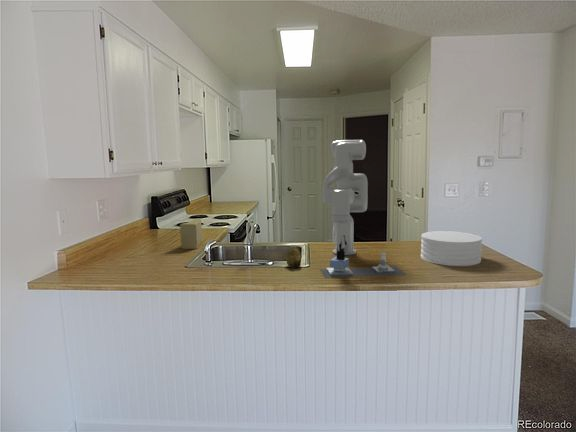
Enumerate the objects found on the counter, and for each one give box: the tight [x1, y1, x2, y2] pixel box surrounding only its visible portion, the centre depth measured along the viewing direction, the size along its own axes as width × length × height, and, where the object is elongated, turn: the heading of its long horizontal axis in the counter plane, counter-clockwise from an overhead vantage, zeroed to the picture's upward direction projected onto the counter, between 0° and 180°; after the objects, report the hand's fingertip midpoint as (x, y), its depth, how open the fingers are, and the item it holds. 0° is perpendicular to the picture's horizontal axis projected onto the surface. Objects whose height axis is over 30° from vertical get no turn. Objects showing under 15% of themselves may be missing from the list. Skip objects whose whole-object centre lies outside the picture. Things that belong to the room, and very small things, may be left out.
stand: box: [371, 252, 395, 273], centre depth 179 cm, size 8×8×8 cm
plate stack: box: [420, 230, 483, 267], centre depth 199 cm, size 28×28×12 cm
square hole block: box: [329, 256, 350, 269], centre depth 177 cm, size 6×6×4 cm
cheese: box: [179, 217, 203, 250], centre depth 240 cm, size 22×10×15 cm, turn 174°
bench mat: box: [319, 266, 408, 279], centre depth 178 cm, size 13×36×1 cm, turn 95°
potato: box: [285, 247, 302, 269], centre depth 191 cm, size 8×13×8 cm, turn 170°
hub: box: [326, 266, 353, 276], centre depth 178 cm, size 10×10×6 cm
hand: (340, 259), depth 175 cm, fingers closed
